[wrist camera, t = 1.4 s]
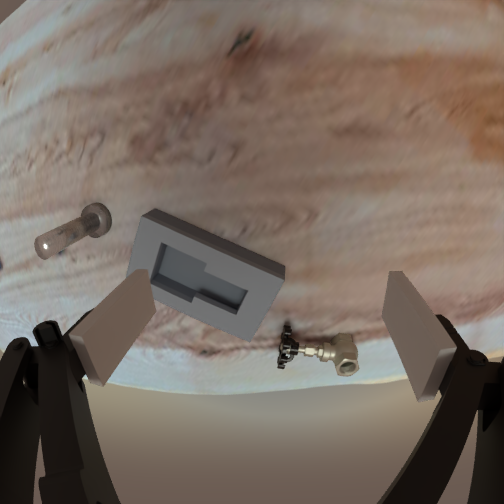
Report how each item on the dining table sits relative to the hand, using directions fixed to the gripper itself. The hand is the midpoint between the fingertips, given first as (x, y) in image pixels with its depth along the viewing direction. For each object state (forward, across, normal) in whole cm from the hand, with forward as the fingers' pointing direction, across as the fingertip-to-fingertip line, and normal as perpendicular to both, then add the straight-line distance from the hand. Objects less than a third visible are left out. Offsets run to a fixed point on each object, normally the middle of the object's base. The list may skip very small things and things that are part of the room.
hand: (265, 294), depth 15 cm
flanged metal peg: (+24, -28, -1) cm, 37 cm away
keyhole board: (+24, -11, -9) cm, 28 cm away
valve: (+25, +6, -21) cm, 33 cm away
